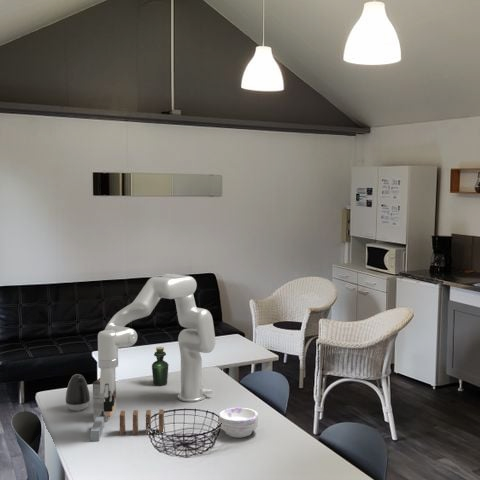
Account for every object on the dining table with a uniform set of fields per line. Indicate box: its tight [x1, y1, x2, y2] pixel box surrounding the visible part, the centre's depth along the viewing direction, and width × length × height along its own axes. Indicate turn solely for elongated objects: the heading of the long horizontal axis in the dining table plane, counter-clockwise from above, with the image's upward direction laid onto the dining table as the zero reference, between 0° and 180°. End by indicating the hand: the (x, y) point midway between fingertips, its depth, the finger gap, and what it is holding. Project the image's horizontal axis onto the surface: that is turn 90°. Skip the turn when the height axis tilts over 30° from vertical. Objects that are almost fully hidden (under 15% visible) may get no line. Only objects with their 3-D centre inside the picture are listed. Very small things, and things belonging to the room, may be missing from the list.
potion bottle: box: [151, 346, 169, 387], centre depth 294 cm, size 8×8×18 cm
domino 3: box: [132, 409, 139, 436], centre depth 236 cm, size 2×5×8 cm, turn 5°
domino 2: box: [119, 410, 126, 437], centre depth 236 cm, size 2×5×8 cm, turn 5°
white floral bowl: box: [218, 407, 259, 439], centre depth 235 cm, size 15×15×8 cm
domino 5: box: [158, 408, 165, 433], centre depth 237 cm, size 2×5×8 cm, turn 5°
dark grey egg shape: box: [65, 373, 91, 412], centre depth 261 cm, size 10×10×15 cm
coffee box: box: [92, 377, 117, 423], centre depth 251 cm, size 9×6×16 cm
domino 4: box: [145, 409, 152, 436], centre depth 236 cm, size 2×5×8 cm, turn 5°
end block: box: [90, 417, 105, 442], centre depth 235 cm, size 3×14×4 cm, turn 5°
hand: (109, 408), depth 235 cm, fingers closed on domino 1, 4 cm apart
